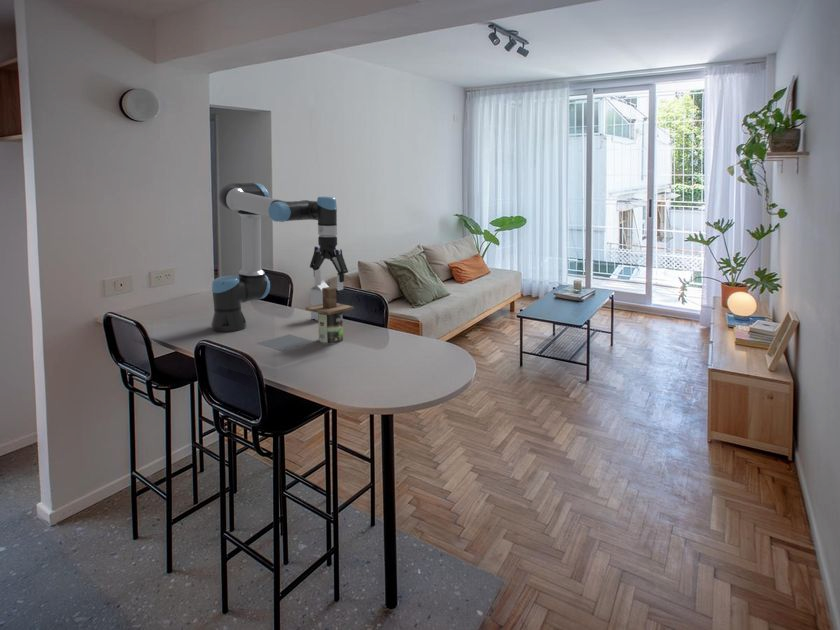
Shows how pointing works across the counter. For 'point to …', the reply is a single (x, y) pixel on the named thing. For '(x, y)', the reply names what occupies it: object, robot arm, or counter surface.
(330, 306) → the wooden peg stand
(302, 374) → the counter surface
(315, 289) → the milk carton
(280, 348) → the mat
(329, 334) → the coffee can
